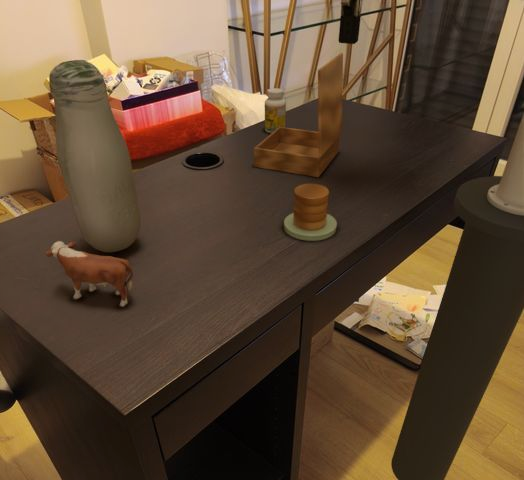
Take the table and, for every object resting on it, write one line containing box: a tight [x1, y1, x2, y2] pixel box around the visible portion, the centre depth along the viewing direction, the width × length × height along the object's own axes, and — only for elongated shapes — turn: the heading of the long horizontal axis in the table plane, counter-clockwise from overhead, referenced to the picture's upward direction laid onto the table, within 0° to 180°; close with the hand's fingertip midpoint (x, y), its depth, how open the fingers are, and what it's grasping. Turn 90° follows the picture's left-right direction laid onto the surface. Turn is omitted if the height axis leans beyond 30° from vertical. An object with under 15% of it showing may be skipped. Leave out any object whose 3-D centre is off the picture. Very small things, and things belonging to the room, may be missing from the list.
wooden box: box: [253, 126, 341, 178], centre depth 109 cm, size 15×15×4 cm
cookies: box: [292, 183, 330, 230], centre depth 84 cm, size 6×6×6 cm
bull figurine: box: [45, 240, 134, 308], centre depth 70 cm, size 4×13×8 cm, turn 71°
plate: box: [283, 212, 338, 242], centre depth 87 cm, size 10×10×1 cm
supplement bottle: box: [264, 87, 287, 134], centre depth 121 cm, size 5×5×10 cm
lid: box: [317, 52, 344, 157], centre depth 100 cm, size 16×15×1 cm
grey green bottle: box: [48, 59, 142, 253], centre depth 73 cm, size 10×10×28 cm
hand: (348, 42), depth 85 cm, fingers closed
